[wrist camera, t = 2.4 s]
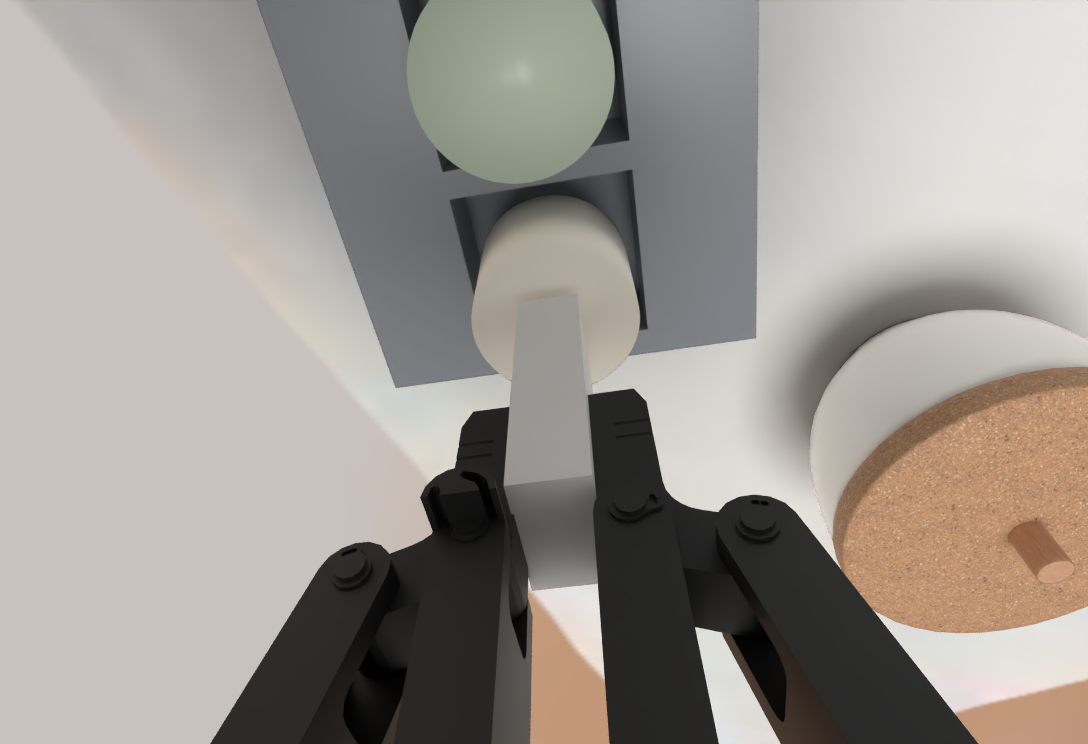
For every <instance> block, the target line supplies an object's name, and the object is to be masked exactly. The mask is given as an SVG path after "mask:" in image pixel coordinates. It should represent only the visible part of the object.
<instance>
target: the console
mask: <svg viewBox="0 0 1088 744" xmlns="http://www.w3.org/2000/svg"><path fill="white" fill-rule="evenodd" d="M256 1H257V4H258V6H259V9H260V12H261V15H262V18H263V20H264V23H265V26H266V29H267V31H268V34H269V37H270V40H271V43H272V45H273V48H274V51H275V54H276V56H277V59H278V62H279V65H280V68H281V70H282V73H283V76H284V79H285V81H286V84H287V87H288V90H289V93H290V95H291V98H292V101H293V104H294V106H295V109H296V112H297V115H298V118H299V120H300V123H301V126H302V129H303V131H304V134H305V137H306V140H307V143H308V145H309V148H310V151H311V154H312V156H313V159H314V162H315V165H316V168H317V170H318V173H319V176H320V179H321V182H322V184H323V187H324V190H325V193H326V195H327V198H328V201H329V204H330V207H331V209H332V212H333V215H334V218H335V220H336V223H337V226H338V229H339V232H340V234H341V237H342V240H343V243H344V245H345V248H346V251H347V254H348V257H349V259H350V262H351V265H352V268H353V270H354V273H355V276H356V279H357V282H358V284H359V287H360V290H361V293H362V295H363V298H364V301H365V304H366V307H367V309H368V312H369V315H370V318H371V320H372V323H373V326H374V329H375V332H376V334H377V337H378V340H379V343H380V345H381V348H382V351H383V354H384V357H385V359H386V362H387V365H388V368H389V370H390V373H391V376H392V379H393V382H394V384H395V387H396V388H399V387H407V386H414V385H421V384H428V383H436V382H443V381H450V380H457V379H464V378H472V377H479V376H486V375H493V374H499V373H498V372H497V371H496V370H495V369H493V368H492V366H491V365H490V364H489V363H488V362H487V361H486V360H485V358H484V357H483V355H482V354H481V352H480V350H479V349H478V347H477V345H476V342H475V339H474V336H473V331H472V325H471V314H472V306H473V301H474V295H475V290H476V285H477V279H478V274H479V269H480V263H481V258H482V253H483V248H484V245H485V241H486V239H487V236H488V234H489V232H490V231H491V229H492V227H493V226H494V224H495V223H496V222H497V221H498V220H499V218H500V217H501V216H503V215H504V214H505V213H506V212H507V211H508V210H510V209H511V208H513V207H514V206H516V205H518V204H520V203H522V202H524V201H526V200H529V199H532V198H536V197H540V196H547V195H563V196H570V197H574V198H578V199H581V200H584V201H586V202H588V203H590V204H592V205H594V206H595V207H597V208H599V209H600V210H601V211H602V212H604V213H605V214H606V215H607V216H608V217H609V218H610V219H611V220H612V221H613V223H614V224H615V225H616V227H617V228H618V230H619V232H620V234H621V236H622V238H623V241H624V244H625V248H626V252H627V256H628V261H629V265H630V269H631V274H632V278H633V282H634V287H635V291H636V295H637V300H638V305H639V310H640V325H639V332H638V335H637V339H636V341H635V344H634V346H633V348H632V350H631V352H630V353H629V355H628V356H631V355H638V354H645V353H652V352H659V351H667V350H674V349H681V348H688V347H696V346H703V345H710V344H717V343H724V342H732V341H739V340H746V339H753V338H756V279H757V148H758V17H759V0H592V2H593V4H594V6H595V8H596V10H597V12H598V14H599V16H600V18H601V21H602V23H603V25H604V27H605V30H606V32H607V34H608V38H609V41H610V44H611V48H612V53H613V59H614V70H615V82H614V93H613V98H612V103H611V107H610V110H609V113H608V116H607V119H606V121H605V123H604V125H603V127H602V129H601V132H600V133H599V135H598V136H597V138H596V139H595V141H594V142H593V144H592V145H591V146H590V147H589V149H588V150H587V151H586V152H585V153H584V154H583V155H582V156H581V157H580V158H579V159H578V160H577V161H576V162H574V163H573V164H572V165H570V166H569V167H567V168H566V169H564V170H563V171H561V172H559V173H557V174H555V175H553V176H550V177H548V178H545V179H542V180H538V181H534V182H530V183H520V184H506V183H498V182H492V181H489V180H485V179H482V178H479V177H477V176H474V175H472V174H470V173H468V172H466V171H464V170H463V169H461V168H459V167H457V166H456V165H455V164H453V163H452V162H451V161H449V160H448V159H447V158H446V157H445V156H444V155H443V154H442V153H441V152H440V151H439V150H438V149H437V148H436V147H435V146H434V145H433V143H432V142H431V141H430V140H429V138H428V137H427V135H426V134H425V132H424V130H423V129H422V127H421V125H420V123H419V121H418V119H417V117H416V115H415V112H414V109H413V106H412V103H411V100H410V95H409V90H408V83H407V55H408V49H409V43H410V40H411V36H412V33H413V30H414V27H415V25H416V23H417V20H418V18H419V16H420V14H421V12H422V11H423V9H424V8H425V6H426V5H427V3H428V2H429V0H256Z"/></svg>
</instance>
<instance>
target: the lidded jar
mask: <svg viewBox="0 0 1088 744" xmlns="http://www.w3.org/2000/svg"><path fill="white" fill-rule="evenodd" d="M810 465H811V473H812V479H813V484H814V488H815V493H816V496H817V500H818V504H819V508H820V511H821V514H822V516H823V519H824V522H825V524H826V527H827V529H828V532H829V534H830V536H831V538H832V540H833V544H834V549H835V554H836V557H837V560H838V563H839V565H840V567H841V569H842V572H843V573H844V574H845V575H846V577H847V578H848V579H849V580H850V582H851V583H852V584H853V585H854V587H855V588H856V589H857V591H858V592H859V593H860V594H861V596H862V597H863V598H864V599H865V601H866V602H867V603H868V605H869V606H870V607H871V608H872V609H873V610H874V611H876V612H878V613H880V614H882V615H884V616H886V617H887V618H889V619H891V620H893V621H895V622H898V623H901V624H905V625H908V626H911V627H915V628H919V629H925V630H930V631H935V632H950V633H983V632H991V631H999V630H1007V629H1012V628H1017V627H1023V626H1028V625H1033V624H1036V623H1040V622H1043V621H1047V620H1050V619H1053V618H1057V617H1060V616H1063V615H1066V614H1068V613H1071V612H1074V611H1077V610H1079V609H1082V608H1085V607H1087V606H1088V340H1087V339H1085V338H1083V337H1081V336H1079V335H1077V334H1075V333H1073V332H1071V331H1069V330H1067V329H1064V328H1062V327H1059V326H1057V325H1054V324H1052V323H1049V322H1047V321H1044V320H1041V319H1037V318H1033V317H1029V316H1026V315H1021V314H1016V313H1011V312H1006V311H996V310H958V311H948V312H943V313H937V314H932V315H928V316H925V317H922V318H918V319H913V320H909V321H906V322H902V323H899V324H897V325H894V326H892V327H890V328H887V329H885V330H883V331H881V332H880V333H878V334H876V335H874V336H873V337H871V338H870V339H869V340H867V341H866V342H865V343H863V344H862V345H861V346H860V347H859V348H858V349H857V350H856V351H854V352H853V353H852V355H851V356H850V357H849V358H848V359H847V361H846V362H845V363H844V365H843V366H842V367H841V368H840V370H839V371H838V372H837V373H836V374H835V376H834V377H833V378H832V380H831V382H830V383H829V385H828V386H827V388H826V390H825V391H824V394H823V396H822V398H821V401H820V403H819V406H818V408H817V410H816V413H815V416H814V420H813V425H812V430H811V438H810Z"/></svg>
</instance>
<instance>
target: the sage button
mask: <svg viewBox="0 0 1088 744" xmlns="http://www.w3.org/2000/svg"><path fill="white" fill-rule="evenodd" d="M614 82H615V70H614V59H613V53H612V48H611V44H610V41H609V38H608V34H607V32H606V30H605V27H604V25H603V23H602V21H601V18H600V16H599V14H598V12H597V10H596V8H595V6H594V4H593V2H592V0H429V2H428V3H427V5H426V6H425V8H424V9H423V11H422V12H421V14H420V16H419V18H418V20H417V23H416V25H415V27H414V30H413V33H412V36H411V40H410V43H409V49H408V55H407V83H408V90H409V95H410V100H411V103H412V106H413V109H414V112H415V115H416V117H417V119H418V121H419V123H420V125H421V127H422V129H423V130H424V132H425V134H426V135H427V137H428V138H429V140H430V141H431V142H432V143H433V145H434V146H435V147H436V148H437V149H438V150H439V151H440V152H441V153H442V154H443V155H444V156H445V157H446V158H447V159H448V160H449V161H451V162H452V163H453V164H455V165H456V166H457V167H459V168H461V169H463V170H464V171H466V172H468V173H470V174H472V175H474V176H477V177H479V178H482V179H485V180H489V181H492V182H498V183H506V184H520V183H530V182H534V181H538V180H542V179H545V178H548V177H550V176H553V175H555V174H557V173H559V172H561V171H563V170H564V169H566V168H567V167H569V166H570V165H572V164H573V163H574V162H576V161H577V160H578V159H579V158H580V157H581V156H582V155H583V154H584V153H585V152H586V151H587V150H588V149H589V147H590V146H591V145H592V144H593V142H594V141H595V139H596V138H597V136H598V135H599V133H600V132H601V129H602V127H603V125H604V123H605V121H606V119H607V116H608V113H609V110H610V107H611V103H612V98H613V93H614Z"/></svg>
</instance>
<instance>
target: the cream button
mask: <svg viewBox="0 0 1088 744" xmlns="http://www.w3.org/2000/svg"><path fill="white" fill-rule="evenodd" d="M571 294H578V300H579V306H580V313H581V319H582V325H583V332H584V338H585V344H586V350H587V357H588V363H589V369H590V376H591V382H592V384H594V383H596V382H598V381H600V380H602V379H603V378H605V377H607V376H608V375H609V374H611V373H612V372H613V371H615V370H616V369H617V368H618V367H619V366H620V365H621V364H622V363H623V361H624V360H625V359H626V358H627V356H628V355H629V353H630V352H631V350H632V348H633V346H634V344H635V341H636V339H637V335H638V332H639V325H640V310H639V305H638V300H637V295H636V291H635V287H634V282H633V278H632V274H631V269H630V265H629V261H628V256H627V252H626V248H625V244H624V241H623V238H622V236H621V234H620V232H619V230H618V228H617V227H616V225H615V224H614V223H613V221H612V220H611V219H610V218H609V217H608V216H607V215H606V214H605V213H604V212H602V211H601V210H600V209H599V208H597V207H595V206H594V205H592V204H590V203H588V202H586V201H584V200H581V199H578V198H574V197H570V196H563V195H547V196H540V197H536V198H532V199H529V200H526V201H524V202H522V203H520V204H518V205H516V206H514V207H513V208H511V209H510V210H508V211H507V212H506V213H505V214H504V215H503V216H501V217H500V218H499V220H498V221H497V222H496V223H495V224H494V226H493V227H492V229H491V231H490V232H489V234H488V236H487V239H486V241H485V245H484V248H483V253H482V258H481V263H480V269H479V274H478V279H477V285H476V290H475V295H474V301H473V306H472V314H471V325H472V331H473V336H474V339H475V342H476V345H477V347H478V349H479V350H480V352H481V354H482V355H483V357H484V358H485V360H486V361H487V362H488V363H489V364H490V365H491V366H492V368H493V369H495V370H496V371H497V372H498V373H499V374H501V375H502V376H504V377H505V378H507V379H508V380H510V381H512V370H513V357H514V344H515V331H516V319H517V306H518V302H524V301H530V300H537V299H544V298H550V297H557V296H564V295H571Z"/></svg>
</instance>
